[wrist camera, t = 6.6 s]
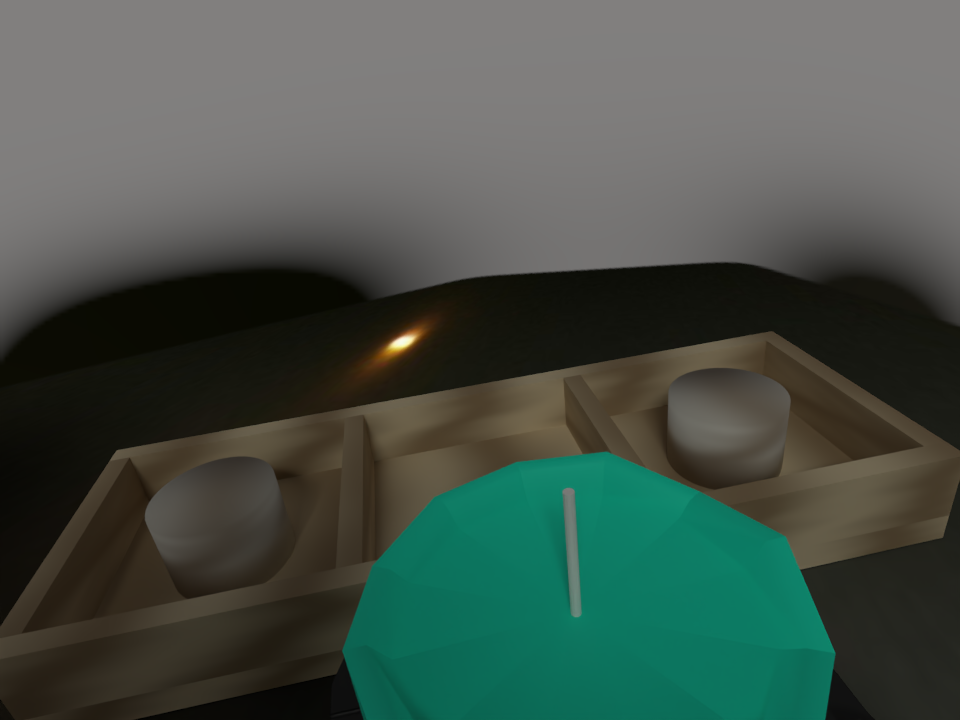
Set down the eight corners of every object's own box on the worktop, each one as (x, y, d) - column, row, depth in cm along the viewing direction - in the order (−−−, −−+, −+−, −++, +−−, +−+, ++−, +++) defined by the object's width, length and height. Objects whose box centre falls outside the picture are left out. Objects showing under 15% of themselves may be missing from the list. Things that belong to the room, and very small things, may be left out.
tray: (31, 742, 18) (-34, 651, 16) (145, 514, 28) (112, 440, 26) (942, 537, 21) (970, 442, 20) (765, 394, 31) (773, 321, 29)
